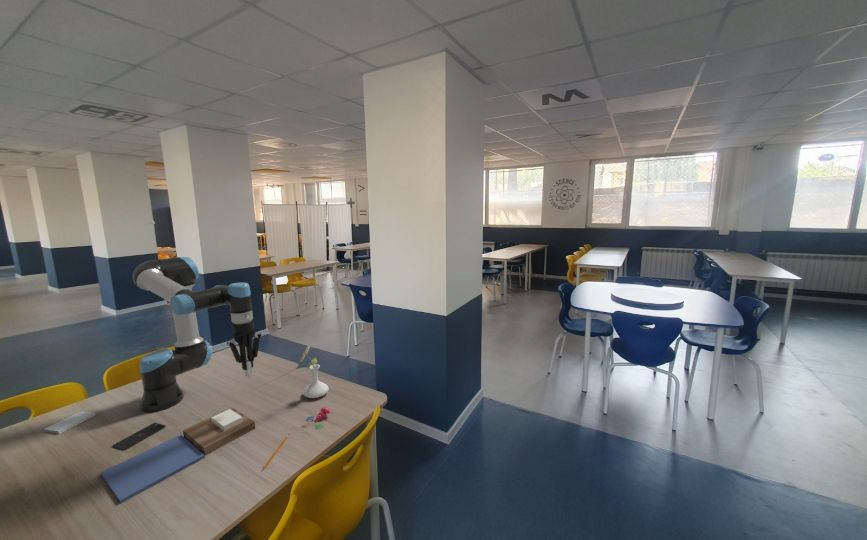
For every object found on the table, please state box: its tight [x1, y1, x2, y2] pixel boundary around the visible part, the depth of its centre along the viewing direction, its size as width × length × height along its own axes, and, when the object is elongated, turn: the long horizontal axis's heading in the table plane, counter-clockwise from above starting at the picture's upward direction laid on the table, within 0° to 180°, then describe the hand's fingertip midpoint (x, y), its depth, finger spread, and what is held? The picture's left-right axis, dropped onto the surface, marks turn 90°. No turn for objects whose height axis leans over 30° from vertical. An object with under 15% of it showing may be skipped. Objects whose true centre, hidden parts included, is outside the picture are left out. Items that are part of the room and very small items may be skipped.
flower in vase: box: [299, 345, 330, 399], centre depth 156 cm, size 13×11×25 cm
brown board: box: [182, 407, 256, 456], centre depth 131 cm, size 18×18×3 cm
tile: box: [210, 408, 243, 431], centre depth 133 cm, size 10×7×2 cm
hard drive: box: [42, 410, 97, 435], centre depth 138 cm, size 2×8×12 cm
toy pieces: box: [299, 406, 331, 430], centre depth 137 cm, size 12×11×4 cm
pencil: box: [261, 433, 291, 472], centre depth 121 cm, size 1×1×19 cm
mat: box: [100, 434, 206, 504], centre depth 114 cm, size 20×22×1 cm
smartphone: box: [111, 422, 167, 452], centre depth 130 cm, size 7×1×15 cm
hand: (248, 375), depth 139 cm, fingers closed
